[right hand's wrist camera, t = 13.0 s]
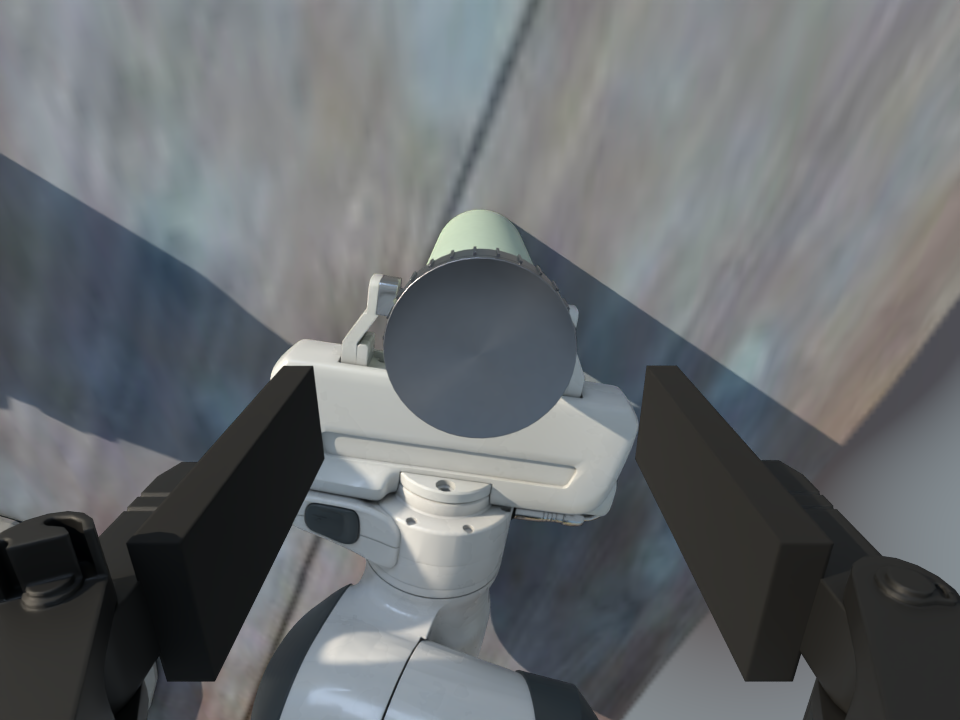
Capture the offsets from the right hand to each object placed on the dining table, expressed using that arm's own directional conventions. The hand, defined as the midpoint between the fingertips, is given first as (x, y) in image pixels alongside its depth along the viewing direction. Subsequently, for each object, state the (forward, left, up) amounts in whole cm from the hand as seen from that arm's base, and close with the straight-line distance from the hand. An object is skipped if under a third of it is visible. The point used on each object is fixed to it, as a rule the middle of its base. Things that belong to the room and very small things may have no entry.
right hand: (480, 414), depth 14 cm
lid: (0, 0, -5) cm, 5 cm away
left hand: (0, +1, -15) cm, 15 cm away
